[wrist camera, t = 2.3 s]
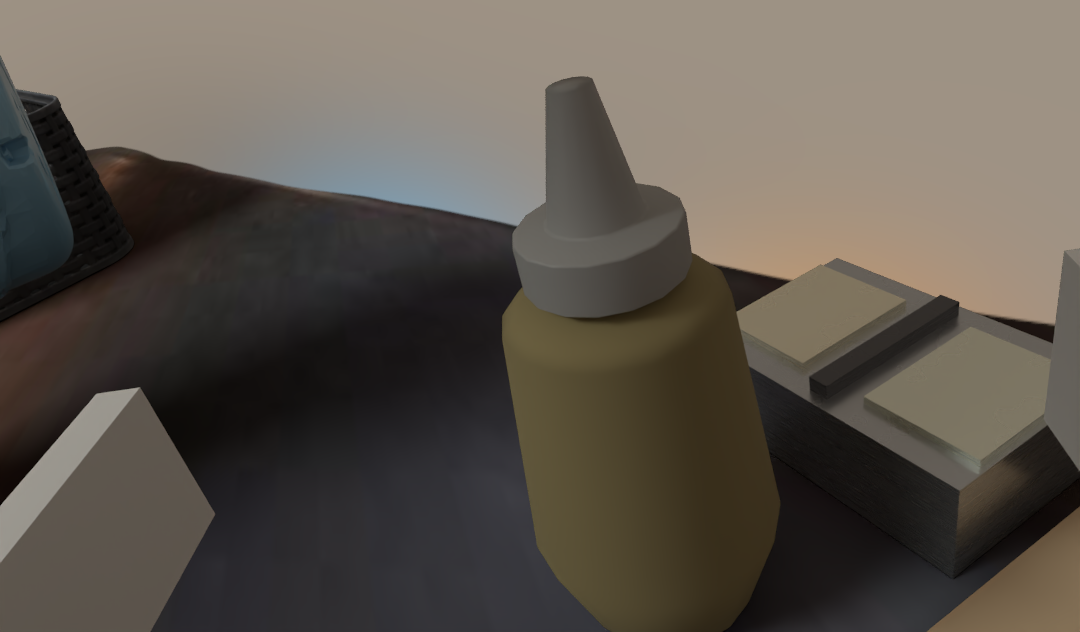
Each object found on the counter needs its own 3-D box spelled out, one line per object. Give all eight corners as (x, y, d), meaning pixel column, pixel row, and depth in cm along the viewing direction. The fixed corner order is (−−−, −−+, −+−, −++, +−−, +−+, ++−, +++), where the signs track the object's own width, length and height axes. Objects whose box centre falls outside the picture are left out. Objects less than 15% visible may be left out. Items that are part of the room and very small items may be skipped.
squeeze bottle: (514, 634, 29) (336, 152, 19) (618, 476, 34) (519, 38, 24) (737, 726, 24) (650, 161, 15) (817, 528, 30) (790, 20, 20)
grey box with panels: (708, 410, 36) (696, 324, 34) (838, 331, 39) (836, 246, 36) (953, 578, 27) (960, 476, 24) (1102, 458, 29) (1123, 355, 27)
